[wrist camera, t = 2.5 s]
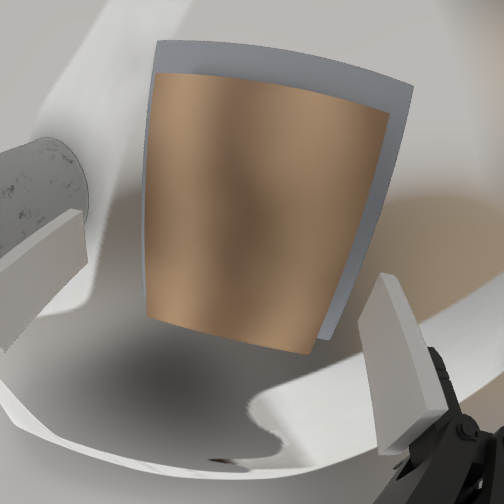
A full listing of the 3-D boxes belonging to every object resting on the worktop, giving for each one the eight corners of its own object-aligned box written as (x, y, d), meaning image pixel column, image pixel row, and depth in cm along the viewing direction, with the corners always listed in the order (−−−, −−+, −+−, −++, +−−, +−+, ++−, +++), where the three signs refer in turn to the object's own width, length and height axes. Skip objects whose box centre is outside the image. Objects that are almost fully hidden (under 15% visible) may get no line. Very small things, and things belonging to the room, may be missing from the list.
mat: (411, 86, 14) (413, 86, 14) (329, 337, 24) (329, 340, 24) (159, 41, 15) (157, 40, 15) (145, 294, 25) (143, 297, 25)
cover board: (368, 110, 15) (389, 113, 11) (309, 312, 23) (309, 355, 19) (187, 77, 16) (155, 72, 12) (170, 280, 23) (147, 316, 19)
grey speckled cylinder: (44, 249, 25) (-40, 323, 14) (7, 164, 21) (-90, 215, 10) (106, 223, 22) (-1, 317, 11) (63, 117, 18) (-69, 159, 8)
